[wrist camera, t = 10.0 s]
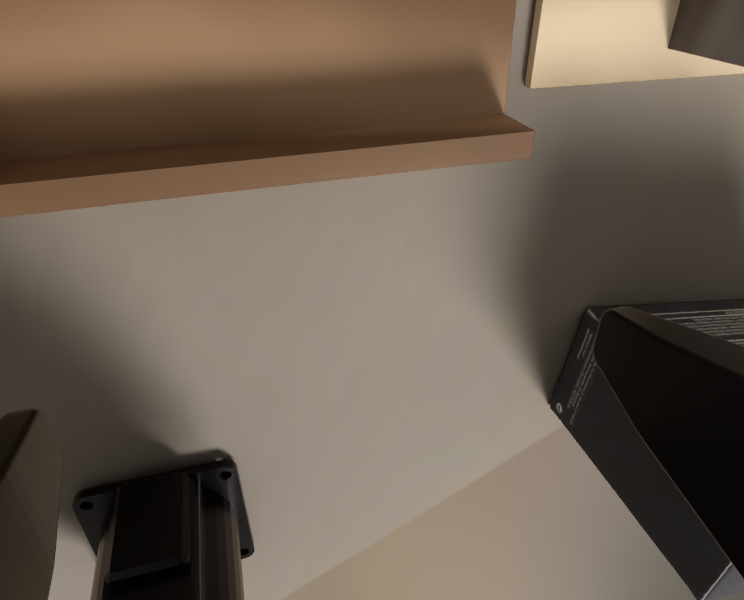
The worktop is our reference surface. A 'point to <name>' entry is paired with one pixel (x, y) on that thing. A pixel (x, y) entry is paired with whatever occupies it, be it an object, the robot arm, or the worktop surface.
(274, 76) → the walnut tray
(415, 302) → the worktop surface
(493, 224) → the worktop surface
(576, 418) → the small box
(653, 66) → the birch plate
